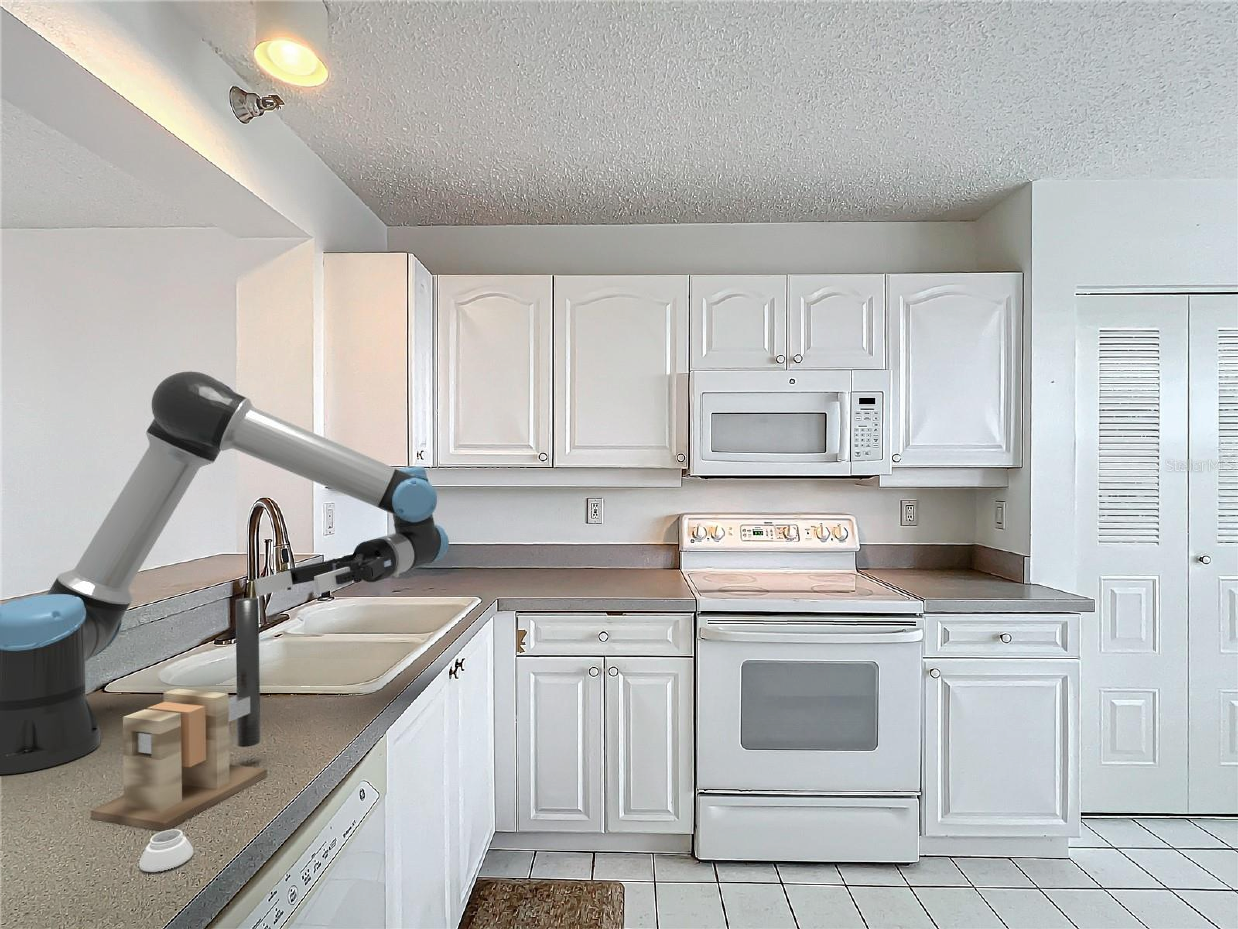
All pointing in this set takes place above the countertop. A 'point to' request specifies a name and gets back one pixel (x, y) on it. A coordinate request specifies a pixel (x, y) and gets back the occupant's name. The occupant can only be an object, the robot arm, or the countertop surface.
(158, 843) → the lidless jar
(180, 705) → the spacer
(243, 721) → the crank handle
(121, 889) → the countertop surface
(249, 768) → the bearing stand
